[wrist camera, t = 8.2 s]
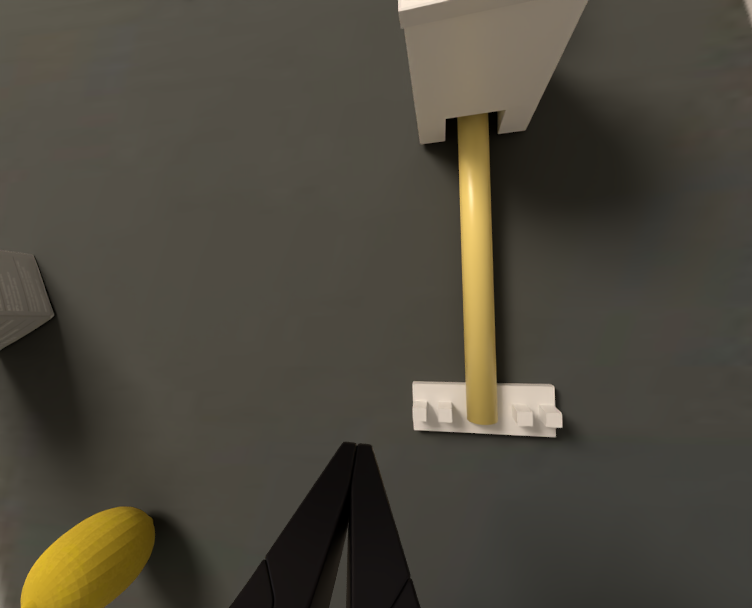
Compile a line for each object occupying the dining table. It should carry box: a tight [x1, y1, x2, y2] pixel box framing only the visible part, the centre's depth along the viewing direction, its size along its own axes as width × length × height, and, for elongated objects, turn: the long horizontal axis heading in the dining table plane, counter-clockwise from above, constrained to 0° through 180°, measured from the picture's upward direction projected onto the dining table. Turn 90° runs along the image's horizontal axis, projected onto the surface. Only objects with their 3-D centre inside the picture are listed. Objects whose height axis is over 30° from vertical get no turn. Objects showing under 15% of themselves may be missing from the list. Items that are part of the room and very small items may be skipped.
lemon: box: [21, 507, 155, 608], centre depth 21 cm, size 6×6×8 cm
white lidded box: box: [398, 0, 588, 144], centre depth 15 cm, size 5×7×10 cm
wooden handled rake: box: [413, 113, 562, 437], centre depth 19 cm, size 26×8×2 cm, turn 2°
